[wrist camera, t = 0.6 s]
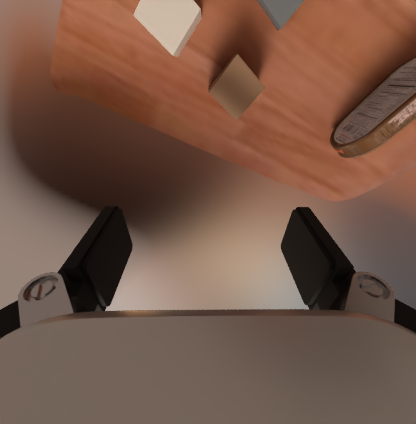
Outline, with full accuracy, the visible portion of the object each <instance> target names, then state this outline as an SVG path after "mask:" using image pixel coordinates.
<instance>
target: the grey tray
mask: <svg viewBox="0 0 416 424" xmlns="http://www.w3.org/2000/svg"><path fill="white" fill-rule="evenodd" d="M257 1H258V2H259V4H260V5H261V7H262V8H263V9H264V11H265V12H266V14H267V15H268V17H269V18H270V20H271V21H272V23H273V24H274V26H275V27H276V28H277V30H279V29H281V28H282V27H283V26H284V24H285V23H286V22H287V21H288V19H289V18H290V17H291V16H292V14H293V13H294V12H295V11H296V10H297V8H298V7H299V6H300V5H301V3H302V2H303V1H304V0H257Z"/></svg>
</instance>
